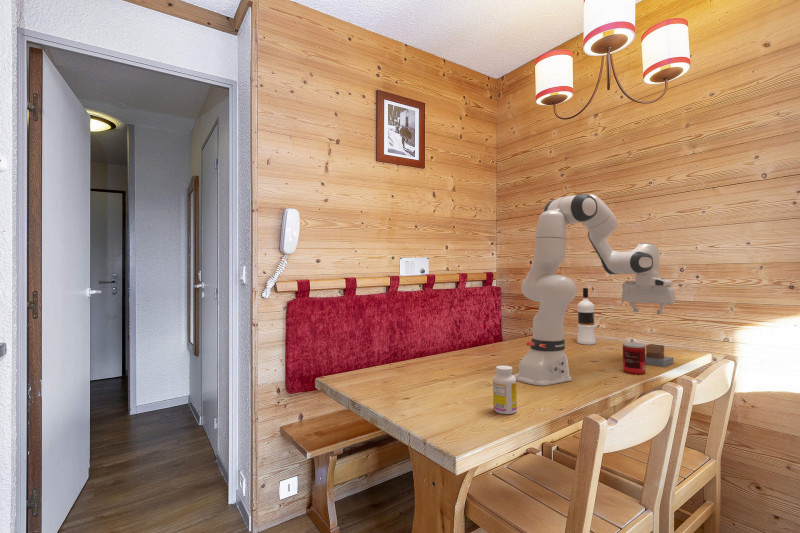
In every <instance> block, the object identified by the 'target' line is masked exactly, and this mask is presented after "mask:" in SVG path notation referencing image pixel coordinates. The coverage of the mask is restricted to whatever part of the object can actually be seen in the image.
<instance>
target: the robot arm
mask: <svg viewBox="0 0 800 533" xmlns="http://www.w3.org/2000/svg"><path fill="white" fill-rule="evenodd" d="M577 223H582V224H583V225H584V227H585V228H586V229H587V231H588V232H587V237H588V241H589V243H591V245H592V247H593V249H594V251H595V252H596V254H597V256H598V257H599V259H600V263H601V266H602V268H603V269H604V271H605V272H606V273H607V274H609V275H620V274H621V275H633V274H634V276H635V278H634V279H635V280H625V281H624V282H623V283H622V285H621V288H622V292H621V300H622V301H623V302H630V304H629V305H630V306H631V308H632V311H633V313H639V311H640V310H639V309H640V308H639V307H637V306H636V304H637V303H642V304H643V303H645V304H647V303H648V304H659V307H660V308H659V309H657V310H656V315H663V311H664V309H665V308H666V305H674V304H675V303H676V299H677V297H676V290H675V288H674V287H673V284H674V282H673V281H672V280H669V279H666V278H663V277H660V271H659V266H660V254H659V248H658V246H657V245H655V244H653V243H642V242H641V243H638V244H637V245H636V247H635V248H634V249H631V250H628V251H617V250H613V249H612V247H611V246H610V244H609V242H608V241H607V238H609V237H610V236H611V235H612V234H613V233H614V232H615V231H616V229H617V227H618V219H617V217H616V215H615V214H614V212H613V211H612V210H611V209H610V208H609V205H607V204H606V203H605V201H603V200H602V199H601V198H600V197H598V196H597V195H595V194H593V193H592V194H591V193H589V194H587V193H579V194H575V195H565V196H561V197H559V198H555V199H552V200H550V201H549V202H547V203H546V204H545V206H544V208H543V212H542V213H540V215H539V217H538V220H537V225H536V231H535V241H534V251H533V252H534V254H533V260H532V264H531V266H530V269H529V272H528V274H527V276H526V277H525V278H524V279H523V280H522V282H521V286H520V289H521V292H522V294H523V296H524V297H525V298H526V299H529V300H530V301H533V302H536V303H537V302H538V303H540V304H539V308H538V311H537V313H536V314H535V315H534V317H533V318H532V338H531V340H526V342H525V345H526V346H527V347H529V348H530V349H529V350H528V351H527V352H526V354H525V355H524V356H523V358H522V359H521V360H520V361H519V363H518V372H516V373H514V374H512V375H513V376H514V377H515V378H516V381H518V382H521V383H525V384H529V385H533V386H541V387H543V386H549V385H550V386H551V385H554V384H560V383H566V382H570V381H571V382H572V381H573V377H572V376H570V367H569V360H568V356H567V354H566V352H565V349H566V341H565V339H564V322H565V320H564V319H565V315H566V312H567V309H568V307H569V304H570V303H572V301H573V300H574V299H575V297H576V295H577V289H578V288H577V284H576V283H575V281H574V280H573V279H572V278H570V277H568V276H565V275H562V274H556V273H557V270H558V268H559V266H560V265H561V264H562V263H563V262H564V260H565V256H566V241H567V240H566V238H567V226H568V225H573V224H577Z"/></svg>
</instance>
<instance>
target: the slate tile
mask: <svg viewBox="0 0 800 533" xmlns="http://www.w3.org/2000/svg"><path fill="white" fill-rule="evenodd" d="M673 364H674V357H673V356H666V355H664V358H661V359H656V358H649V357H646V353H645V365H647V366H648V365H650V366H656V367H662V368H666V367H667V366H670V365H673Z"/></svg>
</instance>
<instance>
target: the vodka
mask: <svg viewBox="0 0 800 533" xmlns="http://www.w3.org/2000/svg"><path fill="white" fill-rule="evenodd" d="M576 307H577V338H576V342H577V344H579V345H584V346H592V345H593V346H594V345H595V344H597V339H596V334H595V327H596V325H595V304H594V303H593V302H592V301H590V300H589V288H587V287H582V300H581V301H580V302H578V303H577V306H576Z"/></svg>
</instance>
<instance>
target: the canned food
mask: <svg viewBox="0 0 800 533" xmlns="http://www.w3.org/2000/svg"><path fill="white" fill-rule="evenodd" d="M645 354H646V345H645V344H643V343H639V342H632V341H631V342H623V343H622V369H623V372H624V373H626V374H630V375H635V374H636V375H639V376H640V374H642V375H645V373H646V364H645Z"/></svg>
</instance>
